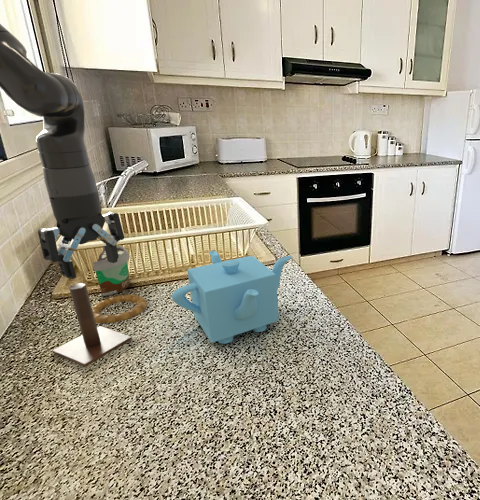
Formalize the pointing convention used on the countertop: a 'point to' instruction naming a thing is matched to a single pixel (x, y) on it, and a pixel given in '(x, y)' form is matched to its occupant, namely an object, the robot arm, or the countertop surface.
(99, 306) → the ring
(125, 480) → the countertop surface
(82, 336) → the peg stand
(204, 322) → the teakettle
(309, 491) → the countertop surface
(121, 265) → the food container
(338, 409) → the countertop surface
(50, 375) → the countertop surface
